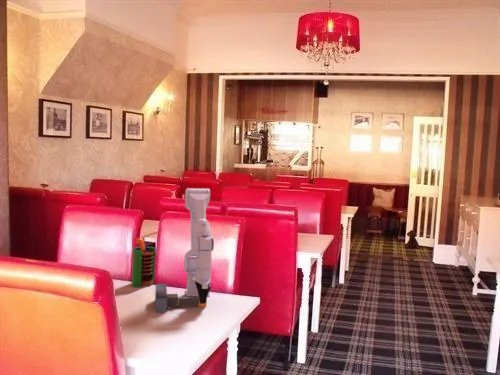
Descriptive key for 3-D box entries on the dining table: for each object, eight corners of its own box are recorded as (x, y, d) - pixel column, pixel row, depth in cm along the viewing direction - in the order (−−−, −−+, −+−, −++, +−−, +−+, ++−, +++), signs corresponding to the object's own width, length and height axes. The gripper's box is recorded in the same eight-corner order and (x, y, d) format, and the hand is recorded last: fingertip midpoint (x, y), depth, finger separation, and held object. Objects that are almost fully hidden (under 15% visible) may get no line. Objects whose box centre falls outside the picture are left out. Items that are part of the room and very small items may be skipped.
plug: (205, 303, 189) (205, 293, 188) (206, 307, 184) (207, 296, 184) (164, 304, 186) (164, 294, 185) (164, 307, 181) (165, 297, 181)
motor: (147, 288, 205) (148, 242, 203) (127, 286, 207) (128, 240, 205) (156, 282, 215) (157, 238, 213) (137, 280, 217) (139, 236, 215)
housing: (165, 300, 190) (166, 284, 190) (166, 312, 177) (167, 295, 176) (155, 300, 190) (155, 284, 189) (155, 312, 176) (156, 295, 175)
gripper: (191, 262, 191) (190, 296, 192) (194, 272, 177) (193, 308, 178) (209, 262, 193) (207, 295, 194) (213, 272, 179) (212, 307, 180)
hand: (202, 301), depth 186 cm, fingers closed on plug, 3 cm apart
